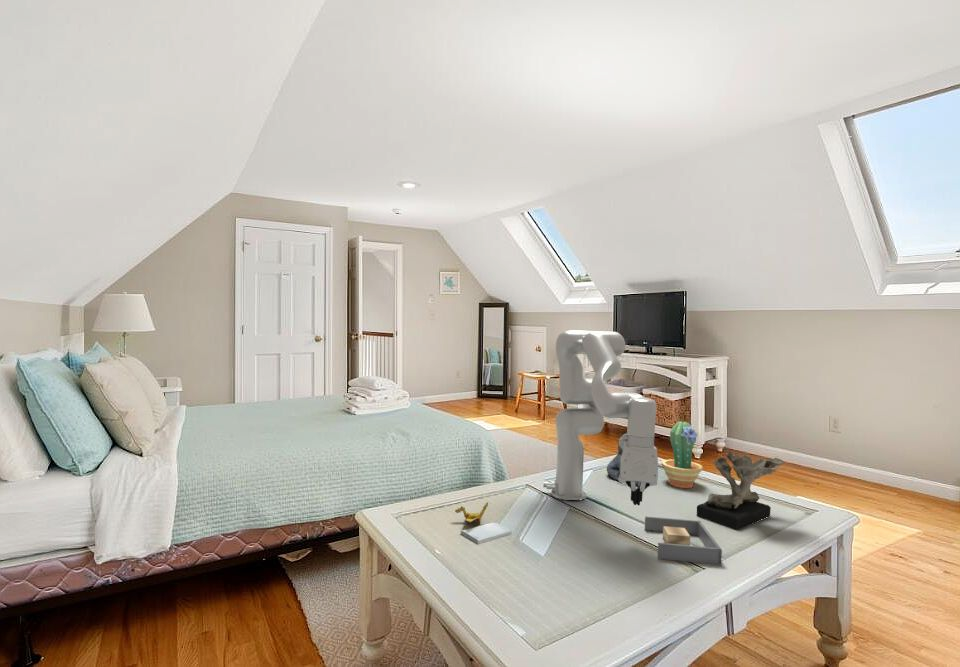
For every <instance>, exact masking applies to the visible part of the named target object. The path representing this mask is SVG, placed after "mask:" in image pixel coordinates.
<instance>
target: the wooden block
mask: <svg viewBox="0 0 960 667" xmlns="http://www.w3.org/2000/svg"><path fill="white" fill-rule="evenodd" d="M662 540H664V541H663V543H668V544H679V545H690V546H691V534H688V532H687V531H686V529H685V528H679V527H667V526H663V532H662Z"/></svg>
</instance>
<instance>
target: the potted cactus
mask: <svg viewBox="0 0 960 667" xmlns="http://www.w3.org/2000/svg"><path fill="white" fill-rule="evenodd" d="M669 434H670V435H669V437H670V443H671V447H672V452H673V459H671V458H670V459H664V460H662V461H661V462H660V463H661V467H662V468H663V469H664V473H665V476H666V477H667V479H668V480H669V481H668V484H669V485H671V486H672V487H673V486H674V487H677V488H681V489H682V488H683V489H690V488H689V487H691V488H693V487H694V482H695V481H696V480H697V479H698V477H699V474H700V473H701V472H702V471H703V468H704V467H703V465H701V464H700V463H697V462H694V461H692V459H693V458H692V454H693V448H694V446H695V444H696V442H697V437H698V433H697V432H696V430H695V429H694V428H693V427H692V425H691V424H690V423H689V422H687V421H677V422H676V423H675V425H673V427H672V428H671V430H670V432H669ZM692 486H693V487H692Z"/></svg>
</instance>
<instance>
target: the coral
mask: <svg viewBox="0 0 960 667" xmlns="http://www.w3.org/2000/svg"><path fill="white" fill-rule="evenodd" d="M725 456H726V457H721V456H720V457H718V458H717V459H716V460H715V459H713V460H712V461H713V465H714V466H715V468H716V469H717V470H718V471H719V474H720V475H721V476H722V477H724V479H726V481H727V482H728V483H729V485H730V487H731V494H718V493H710V494H709V495H708V498H707V500H706V501H705V502H703V503H701V504H698V505H697V506H696V517H698V518H701V519H704V520H707V521H710V522H712V523H714V524H715V523H716V524H718V525H720V526H724V527H726V528H729V529H732V530H734V531H738V530H742V529H744V528H746V527H748V525H749V526H751V525H753V524H752V523H754V524H756V523H758V522H757V521H759V520H761V519H764V518H766V517H769V516H770V517H771V509H772V508H771V506H770V505H768V504H765V503H762V502H759V500H760V496H759V495H758V493H757V492H756V491H753V492H752V491H751V486H752V484H753V483H754V482H755V481H756V480H758V479H760V478H761V477H764V476H766V475H771V474H773V473H775V472H777V471H778V470H779V469H778V468H777V467H780V466H782V465H783V464H785V461H784V460H783V459H780V458H778V457H773V460H771V459H766V460H765V459H763V458H759V459H758V460H755V461H754V463H753V460H752V459H751V457H750V456H748V455H745V454H743V455H738V454H737V453H736V451H734V452H733V453H732V452H731V451H728V452H726V453H725ZM727 459H728V460H729V461H730V462H731V464H732V466H730V464H729V462H728V461H727ZM732 469H733V471H734V472H735V474H736V476H737V478H738V479H739V480H740V483H739V484H738V483H737V482H736V480H735V478H734V477H733V476H732V475H731V470H732ZM770 517H769V518H770ZM766 519H767V518H766ZM764 520H765V519H764ZM761 521H762V520H761ZM755 522H756V523H755ZM759 522H760V521H759ZM750 524H751V525H750Z"/></svg>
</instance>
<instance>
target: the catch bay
mask: <svg viewBox="0 0 960 667" xmlns="http://www.w3.org/2000/svg"><path fill="white" fill-rule="evenodd" d="M663 526H667V527H679V528H685V529H686V531H687V532H688V534H689V535H693V536H697V537H698V538H699V540H700V541H701V542H702V544H703V545H704V546H701V545H700V546H698V545H691V544H690V545H679V544H668V543H665V542H657V559H658V560H669V561H677V562H678V561H680V562H689V563H690V562H691V563H700V564H711V565H719V564H721V565H722V559H723V558H722V557H723V556H722V555H723V554H722V552H723V549H722V547H721V546H720V545H719V544H718V542H717V541H716V540H715V539H714V537H713V536H712V535H711V533H710V532H709V531H708V529H707V528H706V527H705V526H704V524H703V523H702V522H701V521H700V520H692V519H681V518H669V517H657V516H656V517H655V516H645V517H644V531H647V530H653V531H652V532H658V531H659V533H660V532H661V533H663Z"/></svg>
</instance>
